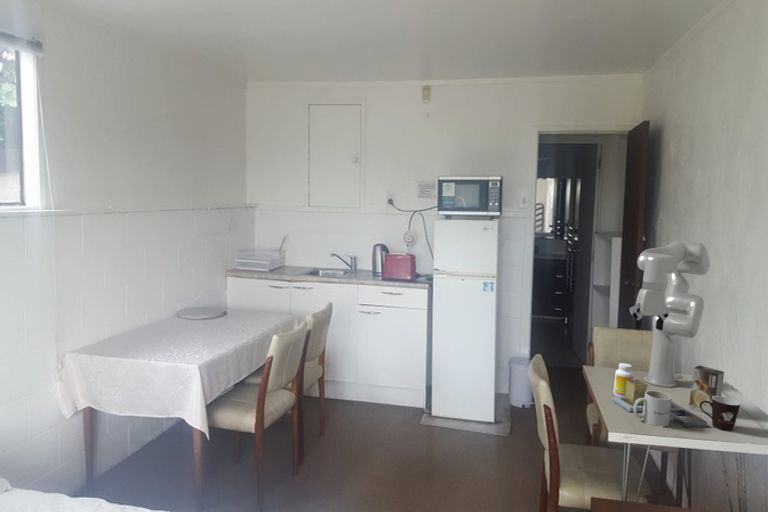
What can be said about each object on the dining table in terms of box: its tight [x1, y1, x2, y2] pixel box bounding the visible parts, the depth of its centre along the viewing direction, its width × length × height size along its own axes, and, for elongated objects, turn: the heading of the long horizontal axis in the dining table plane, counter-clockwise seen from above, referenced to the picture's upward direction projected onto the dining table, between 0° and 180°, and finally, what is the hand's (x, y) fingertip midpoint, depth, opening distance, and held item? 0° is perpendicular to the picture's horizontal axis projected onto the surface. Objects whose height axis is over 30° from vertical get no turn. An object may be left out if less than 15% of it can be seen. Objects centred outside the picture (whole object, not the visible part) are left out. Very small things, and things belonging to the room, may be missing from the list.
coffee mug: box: [700, 395, 741, 432], centre depth 195 cm, size 12×9×10 cm
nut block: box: [625, 379, 649, 406], centre depth 209 cm, size 5×5×9 cm
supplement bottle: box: [612, 362, 634, 397], centre depth 220 cm, size 7×7×13 cm
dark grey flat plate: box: [669, 401, 708, 428], centre depth 203 cm, size 9×22×2 cm, turn 9°
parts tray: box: [612, 396, 643, 413], centre depth 209 cm, size 11×11×2 cm
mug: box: [633, 390, 673, 428], centre depth 196 cm, size 12×9×10 cm
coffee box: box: [688, 365, 725, 416], centre depth 209 cm, size 9×6×16 cm
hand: (647, 329), depth 215 cm, fingers open, 9 cm apart
